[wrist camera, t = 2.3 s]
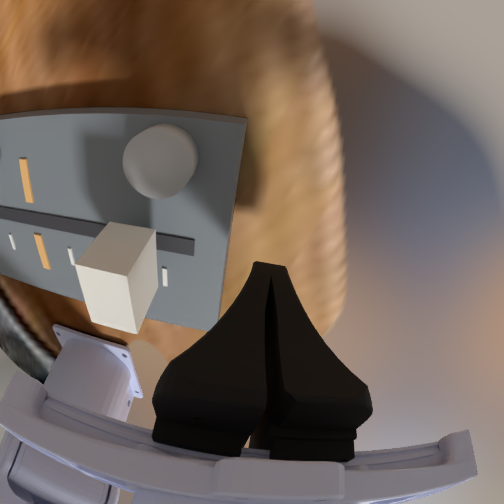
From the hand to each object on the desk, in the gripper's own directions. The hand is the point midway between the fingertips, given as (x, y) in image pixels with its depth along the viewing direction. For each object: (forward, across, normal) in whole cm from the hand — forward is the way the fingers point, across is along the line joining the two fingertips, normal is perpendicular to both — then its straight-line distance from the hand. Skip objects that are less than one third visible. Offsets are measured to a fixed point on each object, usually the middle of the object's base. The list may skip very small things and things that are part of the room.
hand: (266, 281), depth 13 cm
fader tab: (+1, +6, 0) cm, 6 cm away
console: (+3, +11, 0) cm, 11 cm away
